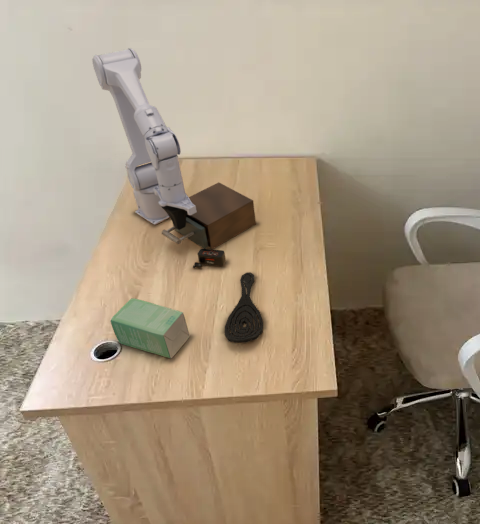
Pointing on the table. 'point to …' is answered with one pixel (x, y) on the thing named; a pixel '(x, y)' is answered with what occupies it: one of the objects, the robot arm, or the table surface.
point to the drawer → (190, 233)
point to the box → (150, 327)
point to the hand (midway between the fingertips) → (180, 227)
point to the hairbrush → (244, 316)
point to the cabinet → (223, 213)
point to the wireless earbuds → (210, 258)
